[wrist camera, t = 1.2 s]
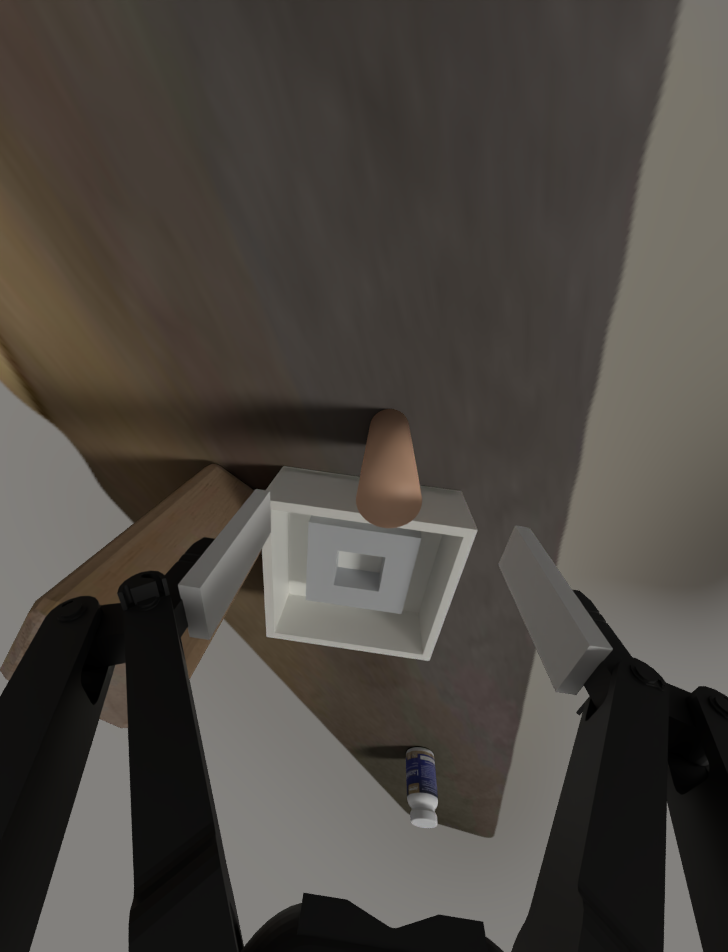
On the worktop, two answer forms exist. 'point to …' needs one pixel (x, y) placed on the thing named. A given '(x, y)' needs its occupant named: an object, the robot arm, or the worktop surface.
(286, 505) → the tub
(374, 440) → the peg
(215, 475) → the wooden block
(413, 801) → the pill bottle
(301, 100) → the worktop surface
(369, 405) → the worktop surface
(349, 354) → the worktop surface
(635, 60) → the worktop surface
